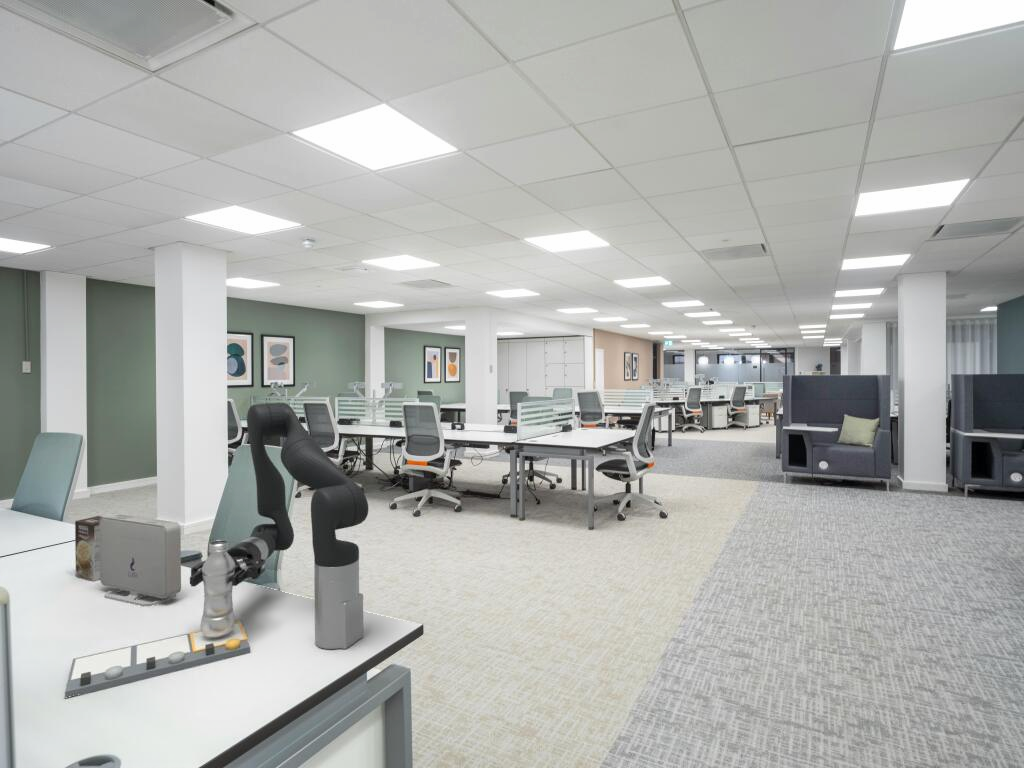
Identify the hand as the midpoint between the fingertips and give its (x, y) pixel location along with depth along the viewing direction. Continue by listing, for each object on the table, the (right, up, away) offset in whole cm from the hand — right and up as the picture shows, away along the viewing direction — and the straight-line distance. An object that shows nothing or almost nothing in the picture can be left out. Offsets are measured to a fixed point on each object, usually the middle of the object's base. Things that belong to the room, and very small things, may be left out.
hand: (213, 581), depth 118 cm
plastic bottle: (0, -13, +2) cm, 13 cm away
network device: (-34, -14, +28) cm, 46 cm away
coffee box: (-56, -13, +42) cm, 72 cm away
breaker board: (-7, -14, -5) cm, 16 cm away
